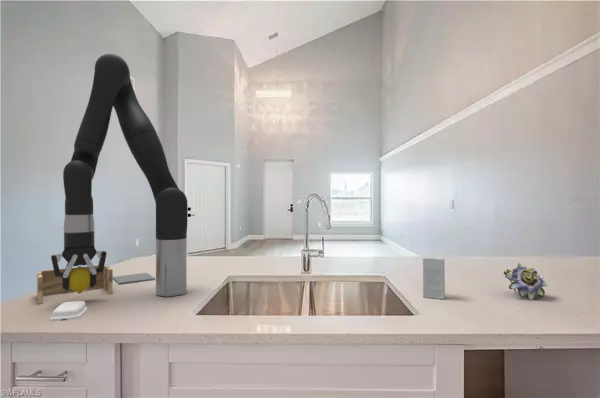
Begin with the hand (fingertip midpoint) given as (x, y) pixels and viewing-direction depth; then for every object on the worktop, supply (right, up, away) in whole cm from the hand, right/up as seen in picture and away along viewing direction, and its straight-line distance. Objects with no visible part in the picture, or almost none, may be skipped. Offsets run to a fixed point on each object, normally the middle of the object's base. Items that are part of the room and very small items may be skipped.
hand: (79, 288), depth 104 cm
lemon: (0, -2, 0) cm, 2 cm away
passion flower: (+132, -4, +7) cm, 133 cm away
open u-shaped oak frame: (-6, -4, +8) cm, 11 cm away
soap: (+4, -5, -11) cm, 13 cm away
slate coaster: (+2, -4, +29) cm, 30 cm away
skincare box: (+104, -4, +5) cm, 105 cm away
